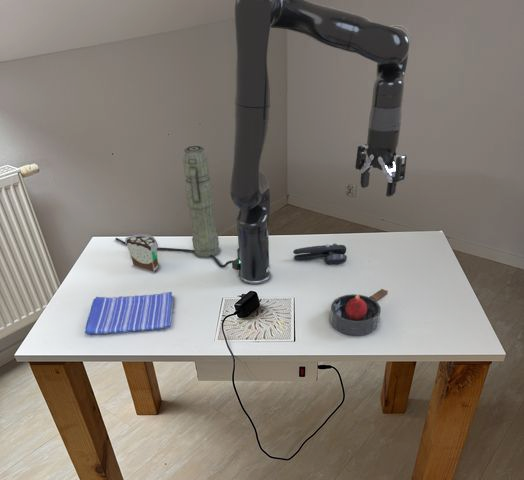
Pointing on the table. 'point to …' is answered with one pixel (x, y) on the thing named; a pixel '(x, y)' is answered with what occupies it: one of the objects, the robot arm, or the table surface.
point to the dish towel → (129, 313)
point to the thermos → (200, 202)
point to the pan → (350, 326)
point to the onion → (356, 308)
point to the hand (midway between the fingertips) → (377, 191)
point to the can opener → (323, 253)
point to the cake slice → (143, 251)
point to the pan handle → (379, 295)
